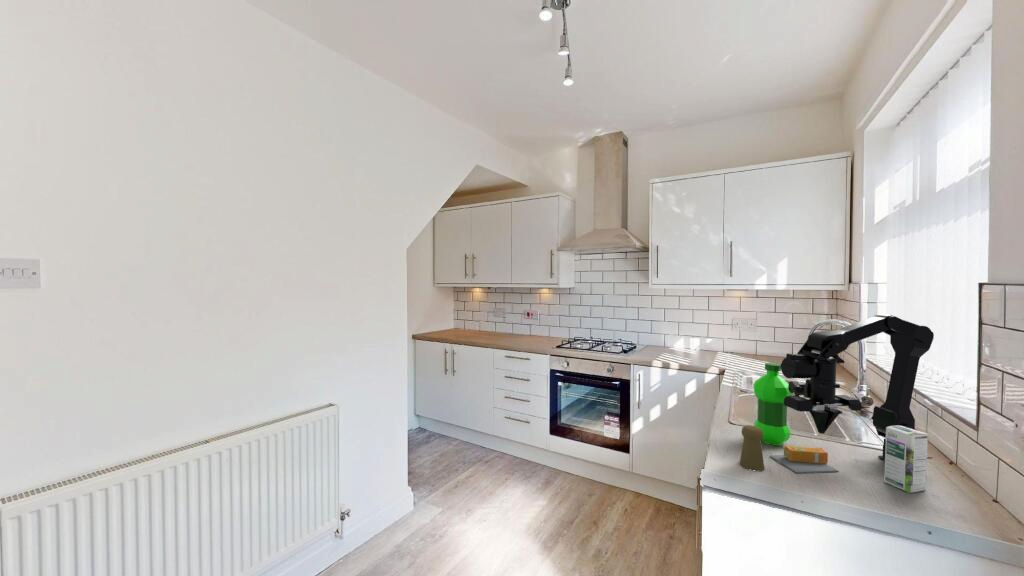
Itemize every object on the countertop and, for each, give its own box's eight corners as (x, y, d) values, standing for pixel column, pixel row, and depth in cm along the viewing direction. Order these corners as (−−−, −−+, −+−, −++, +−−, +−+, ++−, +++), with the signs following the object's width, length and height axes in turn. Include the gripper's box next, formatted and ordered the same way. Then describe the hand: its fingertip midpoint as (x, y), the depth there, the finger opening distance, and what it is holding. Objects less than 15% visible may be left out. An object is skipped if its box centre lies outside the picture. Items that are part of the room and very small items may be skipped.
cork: (766, 465, 112) (767, 426, 111) (761, 473, 107) (762, 432, 107) (742, 458, 116) (743, 421, 116) (736, 466, 111) (737, 427, 111)
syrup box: (882, 482, 103) (884, 426, 102) (900, 479, 104) (901, 424, 104) (909, 493, 97) (911, 434, 97) (927, 490, 99) (929, 432, 98)
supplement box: (828, 451, 112) (789, 450, 113) (828, 463, 112) (789, 462, 113) (820, 446, 115) (783, 445, 116) (820, 458, 115) (783, 457, 116)
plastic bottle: (786, 438, 130) (788, 362, 130) (793, 451, 121) (795, 369, 120) (751, 433, 135) (752, 359, 134) (755, 445, 125) (756, 366, 124)
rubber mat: (808, 455, 118) (808, 454, 118) (838, 472, 108) (838, 470, 108) (769, 456, 117) (769, 455, 117) (796, 473, 107) (796, 471, 107)
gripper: (829, 371, 121) (827, 422, 121) (770, 371, 120) (769, 423, 120) (864, 380, 110) (862, 436, 110) (800, 381, 109) (798, 438, 109)
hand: (821, 433), depth 113 cm, fingers closed
